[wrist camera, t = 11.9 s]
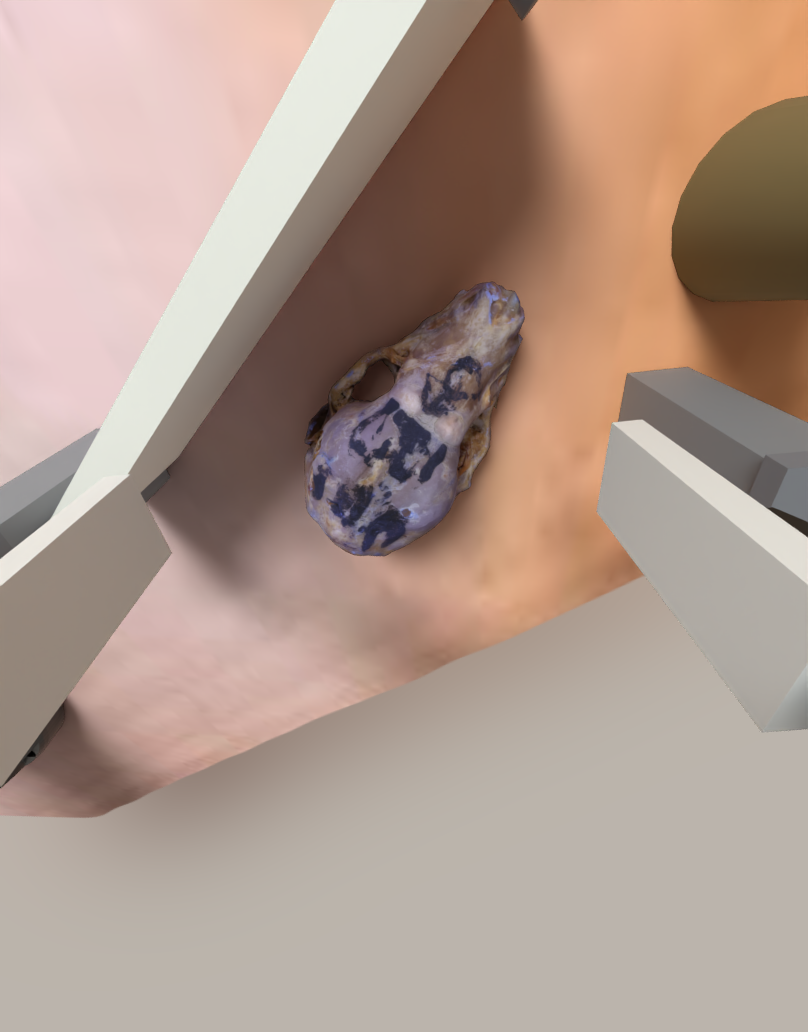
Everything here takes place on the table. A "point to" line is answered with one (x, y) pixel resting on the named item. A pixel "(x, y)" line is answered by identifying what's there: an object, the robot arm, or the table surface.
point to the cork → (749, 211)
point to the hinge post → (46, 493)
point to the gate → (279, 219)
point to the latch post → (726, 433)
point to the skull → (412, 426)
